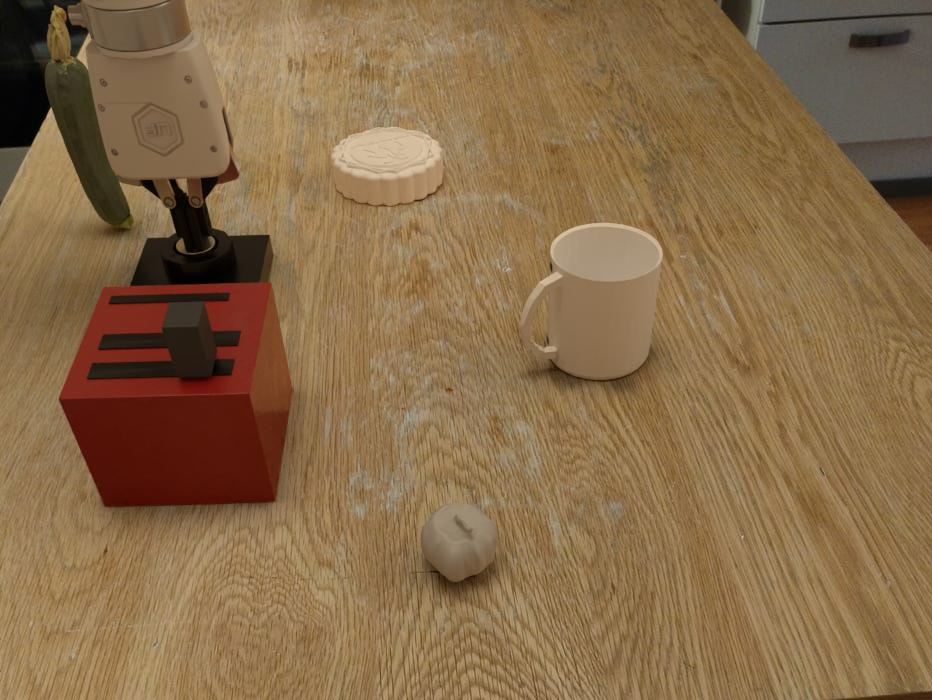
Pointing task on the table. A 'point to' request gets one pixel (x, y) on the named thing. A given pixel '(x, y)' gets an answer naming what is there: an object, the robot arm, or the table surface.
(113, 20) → the robot arm
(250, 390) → the toaster
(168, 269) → the button block
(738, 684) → the table surface
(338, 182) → the mooncake
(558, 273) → the mug
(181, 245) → the button
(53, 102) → the vegetable
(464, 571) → the garlic
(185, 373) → the toaster slider
